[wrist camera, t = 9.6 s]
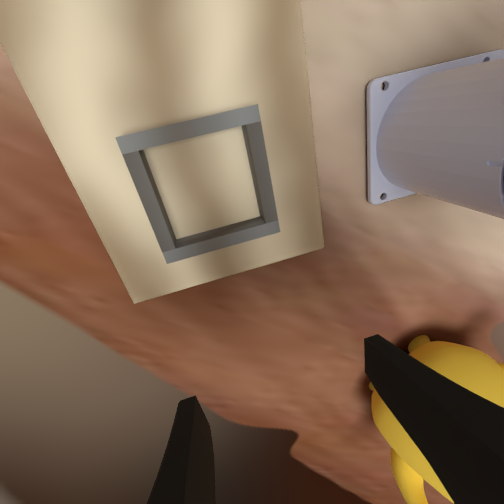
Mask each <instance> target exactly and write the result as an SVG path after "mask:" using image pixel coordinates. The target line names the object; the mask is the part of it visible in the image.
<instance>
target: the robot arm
mask: <svg viewBox="0 0 504 504" xmlns="http://www.w3.org/2000/svg"><path fill="white" fill-rule="evenodd" d="M483 60H484V62H483ZM383 82H384V84H385V88H384V90H382V89H381V85H382V83H383ZM367 168H368V201H369V203H371V204H373V205H377V204H381V203H385V202H388V201H392V200H395V199H399V198H402V197H406V196H409V195H413V194H416V193H420V194H423V195H426V196H430V197H433V198H436V199H440V200H443V201H446V202H450V203H453V204H456V205H459V206H463V207H466V208H469V209H473V210H476V211H479V212H483V213H486V214H489V215H493V216H496V217H499V218H502V219H504V49H499V50H495V51H491V52H486V53H482V54H478V55H474V56H470V57H465V58H461V59H457V60H453V61H448V62H444V63H440V64H436V65H431V66H427V67H423V68H419V69H414V70H410V71H406V72H402V73H397V74H393V75H389V76H385V77H380V78H376V79H373V80H371V81H370V82H369V84H368V86H367ZM381 194H383V197H382V198H380V196H381ZM364 348H365V372H366V374H367V376H368V378H369V379H370V381H371V383H372V385H373V386H374V388H375V389H376V391H377V393H378V394H379V396H380V397H381V399H382V400H383V401H384V403H385V404H386V406H387V407H388V408H389V410H390V411H391V412H392V414H393V415H394V416H395V418H396V419H397V420H398V422H399V423H400V424H401V426H402V427H403V428H404V430H405V431H406V432H407V434H408V435H409V436H410V438H411V439H412V440H413V442H414V443H415V444H416V446H417V447H418V448H419V450H420V451H421V453H422V454H423V455H424V457H425V458H426V460H427V461H428V463H429V464H430V466H431V467H432V469H433V470H434V472H435V473H436V475H437V477H438V478H439V480H440V481H441V483H442V484H443V486H444V488H445V489H446V491H447V492H448V494H449V496H450V497H451V499H452V500H453V502H454V504H504V408H503V407H501V406H499V405H497V404H495V403H493V402H491V401H489V400H487V399H485V398H483V397H481V396H479V395H477V394H475V393H473V392H471V391H470V390H468V389H466V388H464V387H462V386H461V385H459V384H457V383H455V382H453V381H452V380H450V379H448V378H446V377H445V376H443V375H441V374H439V373H438V372H436V371H435V370H433V369H431V368H430V367H428V366H426V365H425V364H423V363H421V362H420V361H418V360H417V359H415V358H413V357H412V356H410V355H409V354H407V353H406V352H404V351H403V350H401V349H400V348H398V347H397V346H395V345H394V344H392V343H390V342H389V341H387V340H386V339H384V338H383V337H381V336H380V335H378V334H377V335H374V336H371V337H368V338H365V339H364ZM147 504H216V501H215V470H214V453H213V444H212V437H211V430H210V425H209V423H208V421H207V419H206V417H205V414H204V412H203V410H202V408H201V406H200V404H199V402H198V400H197V398H196V396H193V397H190V398H187V399H184V400H181V401H180V402H179V403H178V407H177V412H176V416H175V419H174V423H173V427H172V430H171V434H170V438H169V441H168V444H167V448H166V450H165V454H164V457H163V460H162V463H161V466H160V469H159V472H158V475H157V478H156V480H155V483H154V486H153V489H152V491H151V494H150V497H149V499H148V502H147Z"/></svg>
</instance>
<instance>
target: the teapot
mask: <svg viewBox="0 0 504 504" xmlns="http://www.w3.org/2000/svg"><path fill="white" fill-rule="evenodd" d="M408 351H409V352H410V353H409V355H410V356H412V357H413V358H415V359H417V360H418V361H420V362H421V363H423V364H425V365H426V366H428V367H430V368H431V369H433V370H435V371H436V372H438V373H439V374H441V375H443V376H445V377H446V378H448V379H450V380H452V381H453V382H455V383H457V384H459V385H461V386H462V387H464V388H466V389H468V390H470V391H471V392H473V393H475V394H477V395H479V396H481V397H483V398H485V399H487V400H489V401H491V402H493V403H495V404H497V405H499V406H501V407H503V408H504V364H502V363H497V362H496V361H495V360H494V359H492V358H491V357H490V356H489V355H487V354H485V353H484V352H482V351H480V350H477V349H475V348H472V347H468V346H464V345H460V344H456V343H451V342H445V341H432V342H430V340H429V338H428V336H426V335H420V336H417V337H416V338H414V339H413V340H412V341H411V342H410V343H409V345H408ZM369 389H370V390H372V391H373V393H372V403H371V407H372V416H373V419H374V422H375V425H376V426H377V428H378V429H379V431H380V432H381V434H382V435H383V437H384V438H385V439H386V441H387V442H388V443H389V444H390V446H391V447H392V448H391V467H392V471H393V475H394V477H395V480H396V482H397V485H398V487H399V489H400V491H401V493H402V495H403V496H404V498H405V500H406V502H407V504H428V502H427V499H426V496H425V493H424V488H423V479H424V480H426V481H427V482H428V483H429V484H430V485H431V486H433V487H434V488H435V489H436V490H437V491H439V492H440V493H441V494H442V495H443V496H445V497H446V498H447V499H449V500H450V501H451V502H452V503H454V502H453V500H452V499H451V497H450V496H449V494H448V492H447V491H446V489H445V488H444V486H443V484H442V483H441V481H440V480H439V478H438V477H437V475H436V473H435V472H434V470H433V469H432V467H431V466H430V464H429V463H428V461H427V460H426V458H425V457H424V455H423V454H422V453H421V451H420V450H419V448H418V447H417V446H416V444H415V443H414V442H413V440H412V439H411V438H410V436H409V435H408V434H407V432H406V431H405V430H404V428H403V427H402V426H401V424H400V423H399V422H398V420H397V419H396V418H395V416H394V415H393V414H392V412H391V411H390V410H389V408H388V407H387V406H386V404H385V403H384V401H383V400H382V399H381V397H380V396H379V394H378V393H377V391H376V389H375V388H374V386H373V385H372V383H371V382H370V384H369Z"/></svg>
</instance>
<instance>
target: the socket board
mask: <svg viewBox="0 0 504 504" xmlns="http://www.w3.org/2000/svg"><path fill="white" fill-rule="evenodd" d="M0 43H1V45H2V47H3V49H4V51H5V53H6V55H7V57H8V59H9V61H10V63H11V65H12V67H13V69H14V71H15V73H16V75H17V76H18V78H19V80H20V82H21V84H22V86H23V88H24V90H25V92H26V94H27V96H28V98H29V100H30V102H31V104H32V106H33V108H34V110H35V112H36V113H37V115H38V117H39V119H40V121H41V123H42V125H43V127H44V129H45V131H46V133H47V135H48V137H49V139H50V141H51V143H52V145H53V147H54V148H55V150H56V152H57V154H58V156H59V158H60V160H61V162H62V164H63V166H64V168H65V170H66V172H67V174H68V176H69V178H70V180H71V182H72V184H73V185H74V187H75V189H76V191H77V193H78V195H79V197H80V199H81V201H82V203H83V205H84V207H85V209H86V211H87V213H88V215H89V217H90V219H91V220H92V222H93V224H94V226H95V228H96V230H97V232H98V234H99V236H100V238H101V240H102V242H103V244H104V246H105V248H106V250H107V252H108V254H109V256H110V257H111V259H112V261H113V263H114V265H115V267H116V269H117V271H118V273H119V275H120V277H121V279H122V281H123V283H124V285H125V287H126V289H127V291H128V293H129V294H130V296H131V298H132V300H133V302H134V304H135V303H138V302H142V301H145V300H149V299H152V298H155V297H159V296H162V295H166V294H169V293H172V292H176V291H179V290H183V289H186V288H189V287H193V286H196V285H200V284H203V283H207V282H210V281H213V280H217V279H220V278H224V277H227V276H230V275H234V274H237V273H241V272H244V271H247V270H251V269H254V268H258V267H261V266H264V265H268V264H271V263H275V262H278V261H281V260H285V259H288V258H292V257H295V256H298V255H302V254H305V253H309V252H312V251H316V250H319V249H322V248H324V240H323V230H322V219H321V209H320V198H319V188H318V177H317V167H316V157H315V146H314V136H313V125H312V115H311V105H310V94H309V84H308V73H307V63H306V52H305V42H304V32H303V21H302V11H301V0H0Z"/></svg>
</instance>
